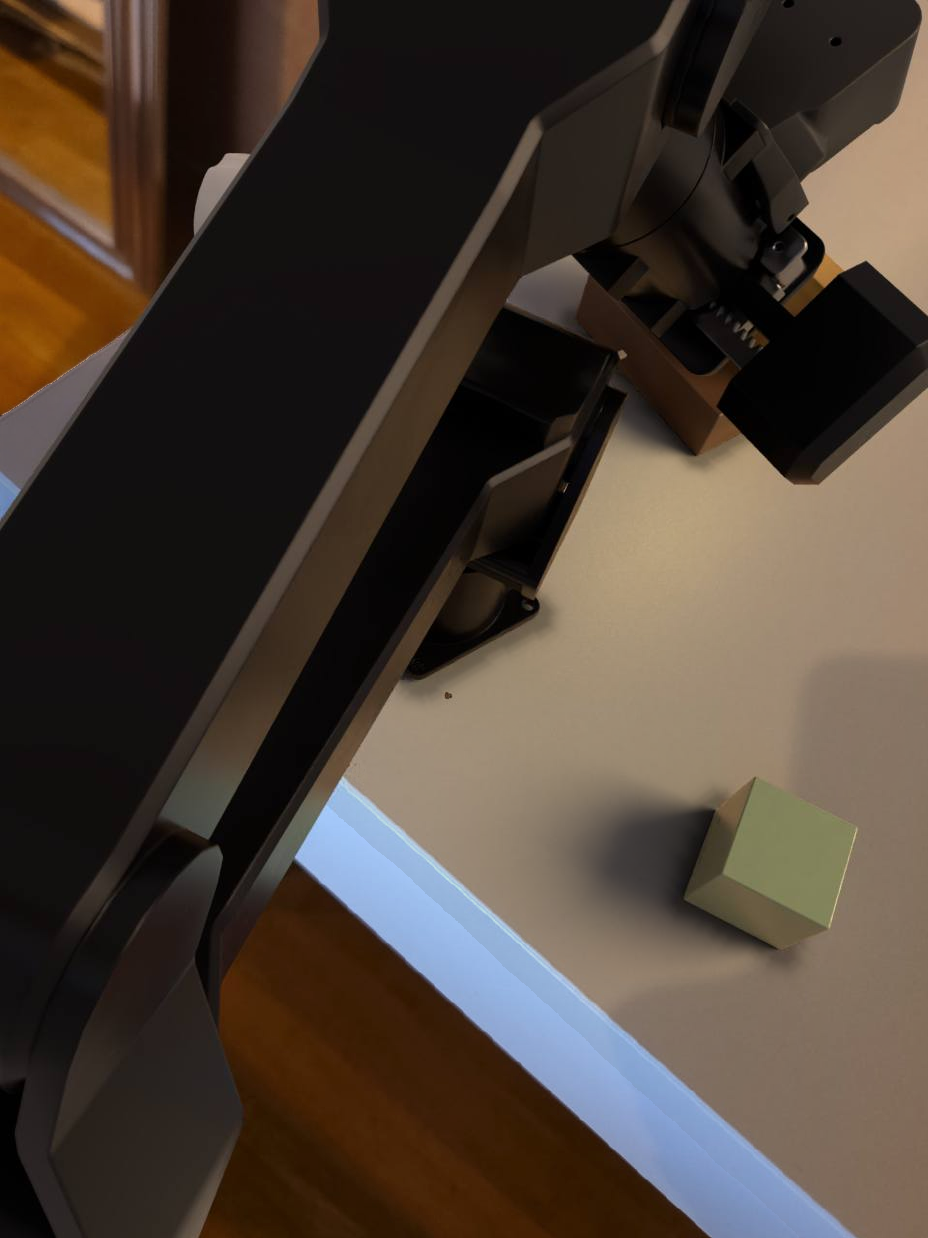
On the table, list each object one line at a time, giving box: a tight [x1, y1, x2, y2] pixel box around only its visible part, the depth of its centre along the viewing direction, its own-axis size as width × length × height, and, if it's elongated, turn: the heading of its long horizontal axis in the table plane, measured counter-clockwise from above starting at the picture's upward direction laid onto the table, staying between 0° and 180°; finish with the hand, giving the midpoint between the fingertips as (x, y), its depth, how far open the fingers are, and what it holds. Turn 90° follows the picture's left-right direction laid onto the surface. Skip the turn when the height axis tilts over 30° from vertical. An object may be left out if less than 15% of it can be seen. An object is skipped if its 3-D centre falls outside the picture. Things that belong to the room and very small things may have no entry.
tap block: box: [575, 273, 742, 457], centre depth 49 cm, size 14×14×3 cm
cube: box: [683, 776, 859, 950], centre depth 36 cm, size 4×4×4 cm
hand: (740, 308), depth 41 cm, fingers closed
